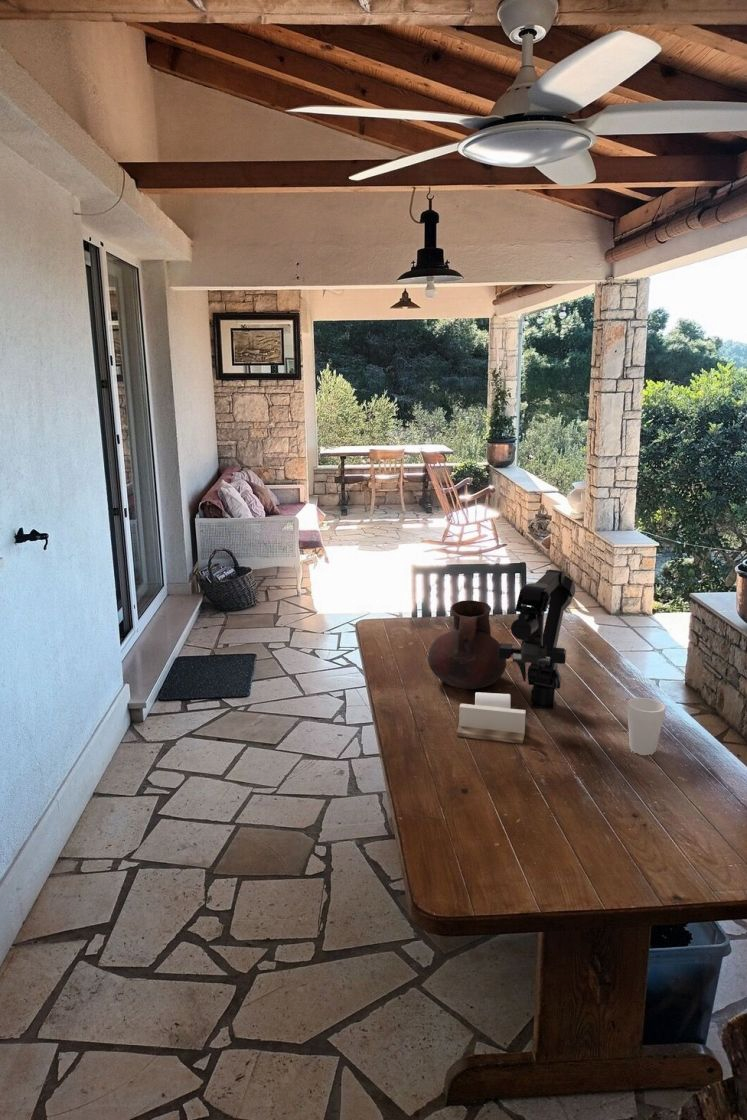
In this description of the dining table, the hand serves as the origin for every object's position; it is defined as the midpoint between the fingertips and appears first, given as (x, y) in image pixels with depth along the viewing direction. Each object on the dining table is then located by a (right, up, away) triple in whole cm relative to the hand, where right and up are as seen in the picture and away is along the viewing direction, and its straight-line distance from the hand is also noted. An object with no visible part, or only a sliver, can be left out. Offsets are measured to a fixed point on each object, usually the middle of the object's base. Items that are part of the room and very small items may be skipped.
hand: (530, 681), depth 221 cm
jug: (-15, -5, +31) cm, 34 cm away
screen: (-12, -14, -6) cm, 19 cm away
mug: (-10, -11, +5) cm, 16 cm away
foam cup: (+27, -16, -15) cm, 35 cm away
